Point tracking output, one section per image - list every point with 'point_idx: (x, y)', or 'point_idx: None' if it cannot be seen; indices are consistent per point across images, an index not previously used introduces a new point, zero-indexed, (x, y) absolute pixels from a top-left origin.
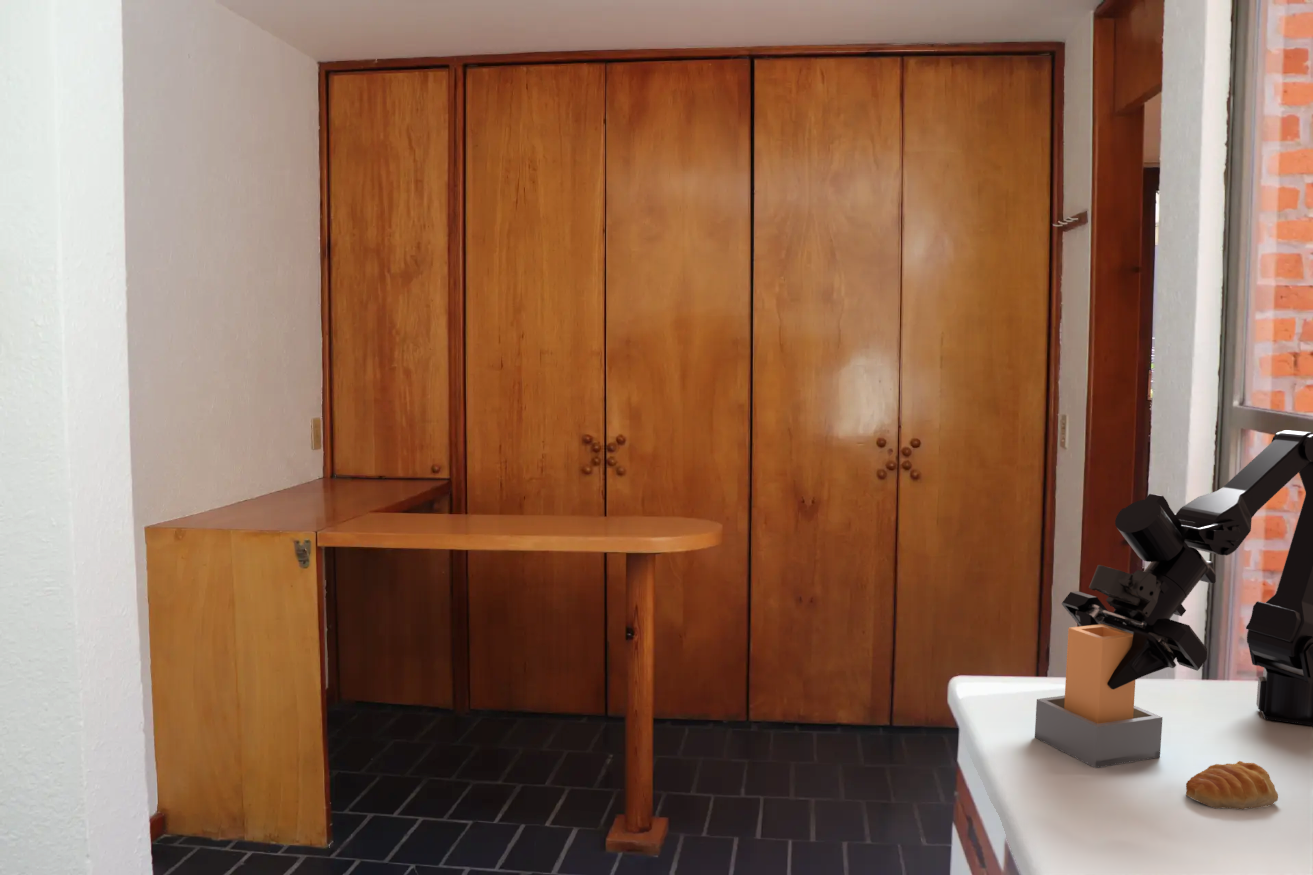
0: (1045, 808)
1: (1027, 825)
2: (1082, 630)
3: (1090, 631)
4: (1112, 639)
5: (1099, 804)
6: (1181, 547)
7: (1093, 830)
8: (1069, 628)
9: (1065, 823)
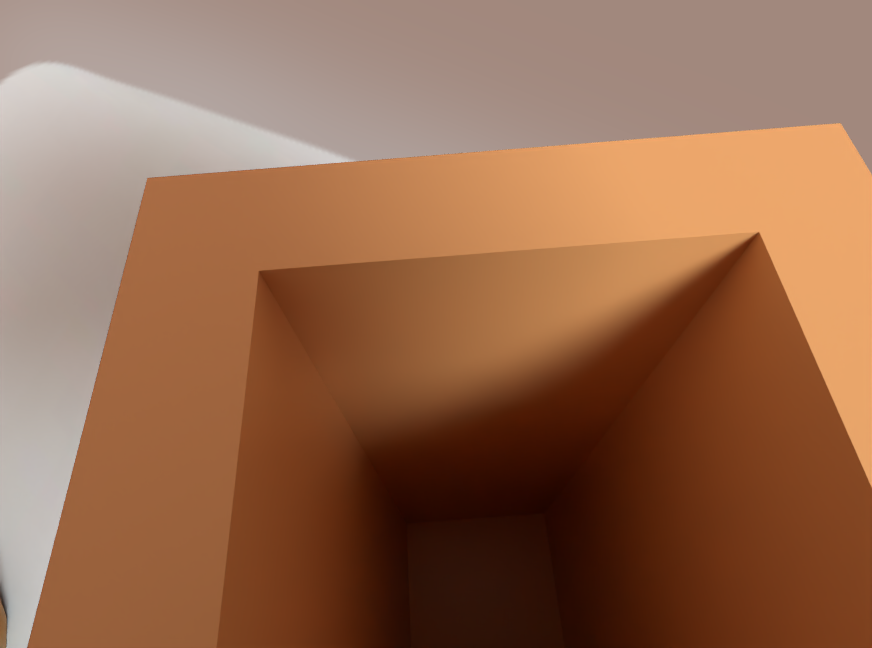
0: (180, 164)
1: (144, 99)
2: (674, 215)
3: (811, 471)
4: (110, 353)
5: None
6: None
7: (49, 192)
8: (815, 132)
9: (106, 161)
